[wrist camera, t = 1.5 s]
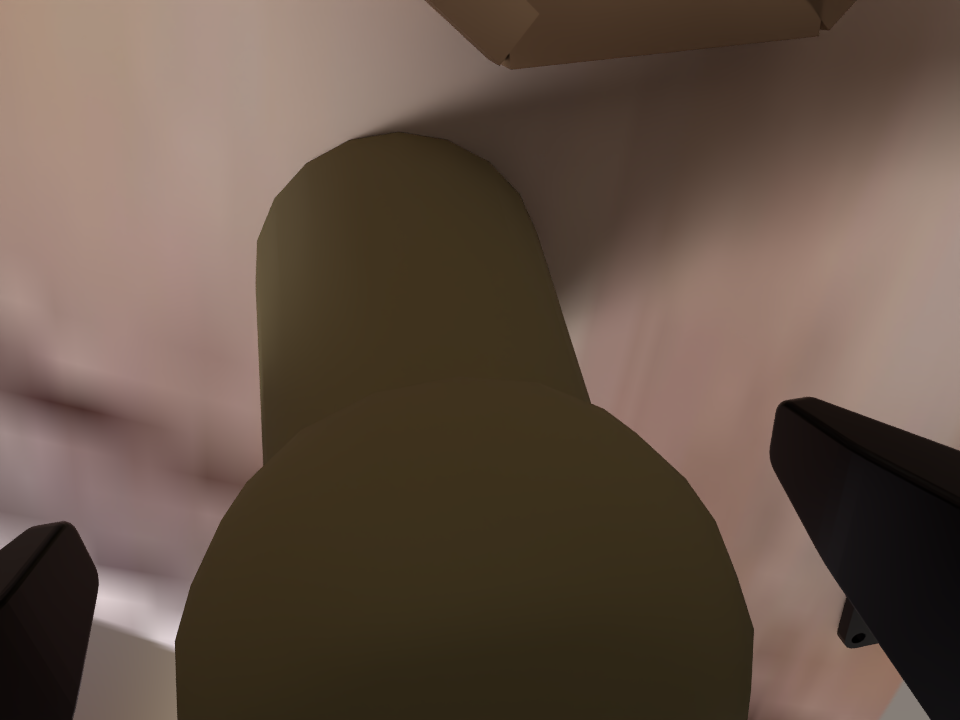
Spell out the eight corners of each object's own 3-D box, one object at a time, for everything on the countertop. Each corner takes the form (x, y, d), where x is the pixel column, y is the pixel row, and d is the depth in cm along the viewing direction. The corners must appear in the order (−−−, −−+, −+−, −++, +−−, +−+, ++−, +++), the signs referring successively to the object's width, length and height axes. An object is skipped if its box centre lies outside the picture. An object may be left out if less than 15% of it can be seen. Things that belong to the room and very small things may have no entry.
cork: (200, 316, 14) (-99, 996, 5) (359, 63, 12) (395, 341, 3) (434, 438, 17) (548, 1042, 7) (595, 243, 15) (1030, 707, 5)
